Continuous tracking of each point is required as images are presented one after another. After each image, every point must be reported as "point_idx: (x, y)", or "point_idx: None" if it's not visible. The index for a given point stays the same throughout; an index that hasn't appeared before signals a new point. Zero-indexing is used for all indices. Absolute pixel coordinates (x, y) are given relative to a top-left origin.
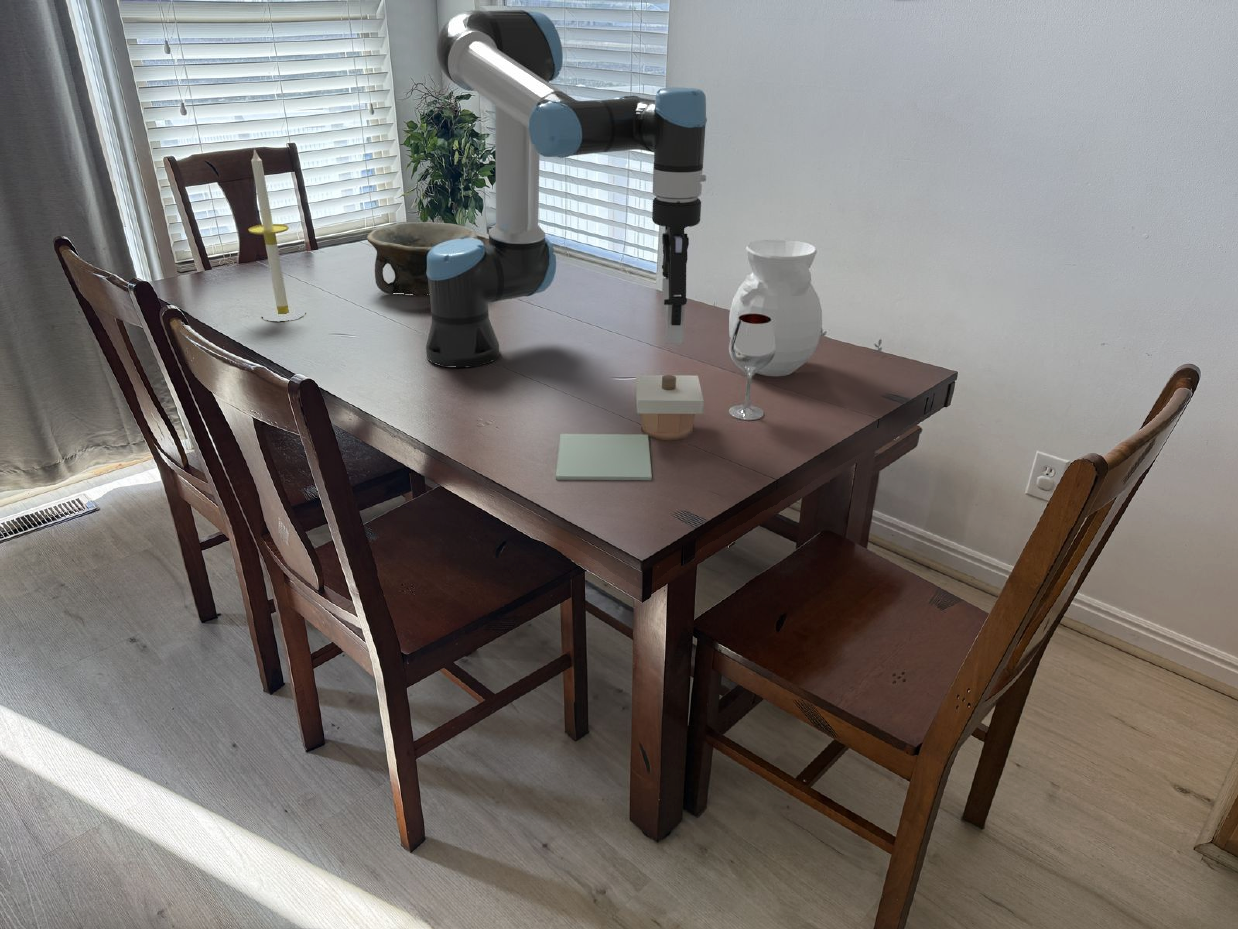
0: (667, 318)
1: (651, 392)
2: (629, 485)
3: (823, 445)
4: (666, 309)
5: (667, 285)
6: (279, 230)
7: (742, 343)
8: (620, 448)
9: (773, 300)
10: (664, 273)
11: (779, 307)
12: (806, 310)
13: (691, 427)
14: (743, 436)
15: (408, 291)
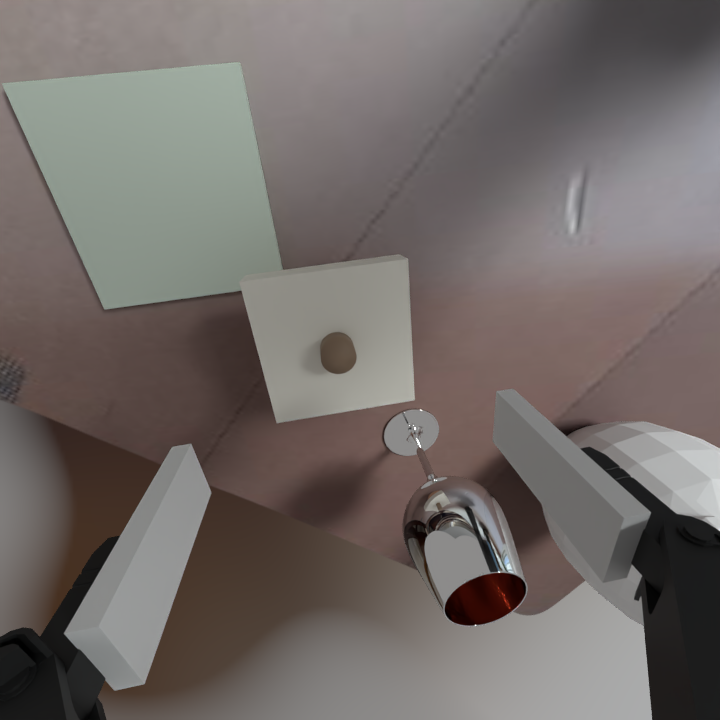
0: (119, 541)
1: (298, 311)
2: (68, 268)
3: (315, 522)
4: (511, 423)
5: (588, 507)
6: None
7: (424, 538)
8: (204, 233)
9: None
10: (666, 557)
11: (629, 583)
12: (617, 607)
13: None
14: (324, 433)
15: None
